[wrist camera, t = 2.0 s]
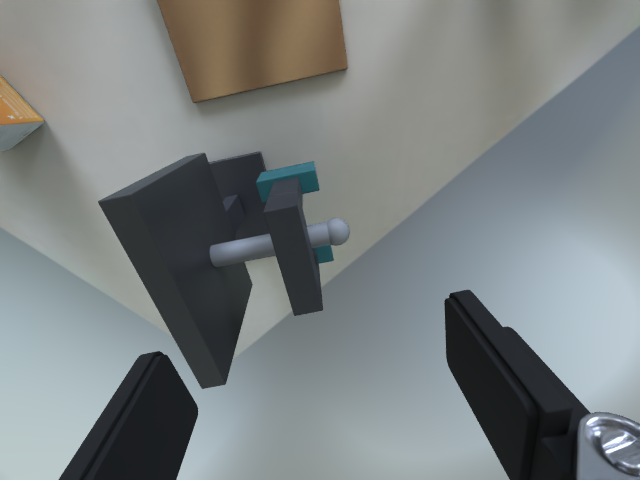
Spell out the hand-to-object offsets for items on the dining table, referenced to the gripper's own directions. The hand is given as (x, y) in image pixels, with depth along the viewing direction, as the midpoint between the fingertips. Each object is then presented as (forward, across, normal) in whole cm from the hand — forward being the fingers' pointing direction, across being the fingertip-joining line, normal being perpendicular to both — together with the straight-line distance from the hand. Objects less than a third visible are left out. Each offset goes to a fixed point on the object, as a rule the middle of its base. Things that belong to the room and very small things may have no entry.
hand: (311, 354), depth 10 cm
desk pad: (+31, +2, -17) cm, 35 cm away
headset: (+24, +2, +3) cm, 24 cm away
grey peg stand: (+31, +6, +3) cm, 32 cm away
